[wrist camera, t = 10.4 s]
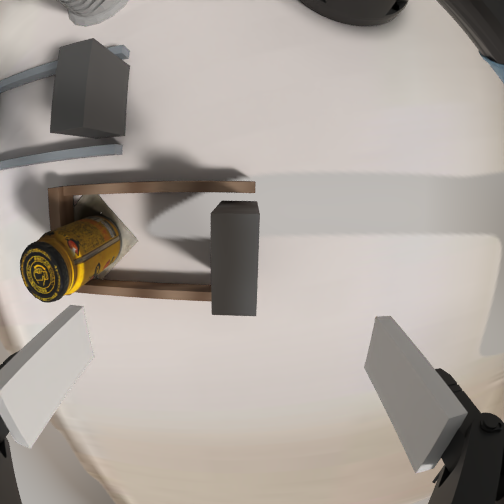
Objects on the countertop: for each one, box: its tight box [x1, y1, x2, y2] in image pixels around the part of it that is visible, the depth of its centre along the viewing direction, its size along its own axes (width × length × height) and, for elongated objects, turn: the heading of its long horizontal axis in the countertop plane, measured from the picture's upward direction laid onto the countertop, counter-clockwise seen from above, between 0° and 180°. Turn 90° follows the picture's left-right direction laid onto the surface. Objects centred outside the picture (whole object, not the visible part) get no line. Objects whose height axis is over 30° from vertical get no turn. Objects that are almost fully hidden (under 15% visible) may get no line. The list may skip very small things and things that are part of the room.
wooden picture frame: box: [48, 181, 260, 316], centre depth 27 cm, size 22×12×9 cm, turn 88°
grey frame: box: [0, 38, 130, 170], centre depth 23 cm, size 22×12×9 cm, turn 88°
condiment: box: [20, 194, 138, 302], centre depth 26 cm, size 7×8×12 cm
